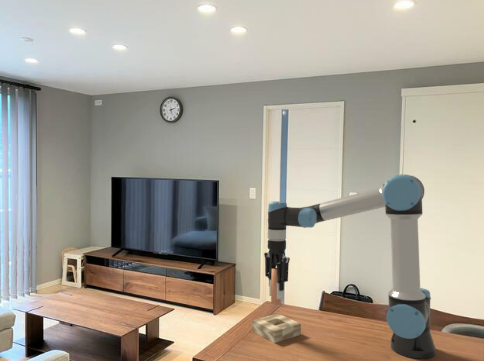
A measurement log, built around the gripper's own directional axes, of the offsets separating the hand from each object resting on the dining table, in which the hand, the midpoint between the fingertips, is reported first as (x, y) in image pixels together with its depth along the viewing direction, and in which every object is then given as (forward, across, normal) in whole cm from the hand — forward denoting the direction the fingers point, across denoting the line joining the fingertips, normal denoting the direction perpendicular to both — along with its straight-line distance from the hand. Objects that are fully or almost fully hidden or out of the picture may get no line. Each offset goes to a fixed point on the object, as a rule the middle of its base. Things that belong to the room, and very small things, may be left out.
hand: (276, 296), depth 155 cm
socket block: (+15, 0, 0) cm, 15 cm away
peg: (+3, 0, 0) cm, 3 cm away
